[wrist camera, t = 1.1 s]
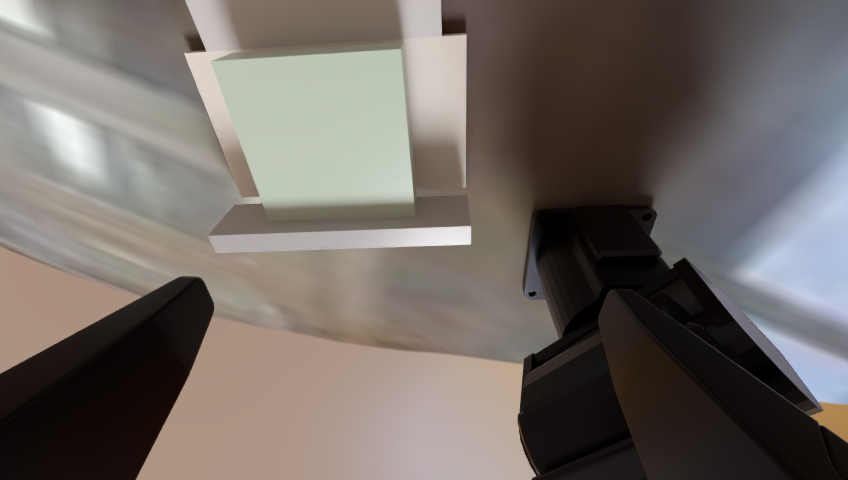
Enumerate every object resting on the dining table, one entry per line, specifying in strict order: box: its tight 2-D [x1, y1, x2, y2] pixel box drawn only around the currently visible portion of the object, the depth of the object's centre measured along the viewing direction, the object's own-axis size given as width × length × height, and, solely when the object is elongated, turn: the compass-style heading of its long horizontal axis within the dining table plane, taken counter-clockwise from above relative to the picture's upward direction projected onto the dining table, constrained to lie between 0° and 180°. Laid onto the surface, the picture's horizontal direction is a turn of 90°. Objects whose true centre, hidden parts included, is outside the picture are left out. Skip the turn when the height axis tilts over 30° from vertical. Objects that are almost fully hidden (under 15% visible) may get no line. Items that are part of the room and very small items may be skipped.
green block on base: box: [208, 42, 471, 253], centre depth 16 cm, size 8×12×4 cm, turn 93°
